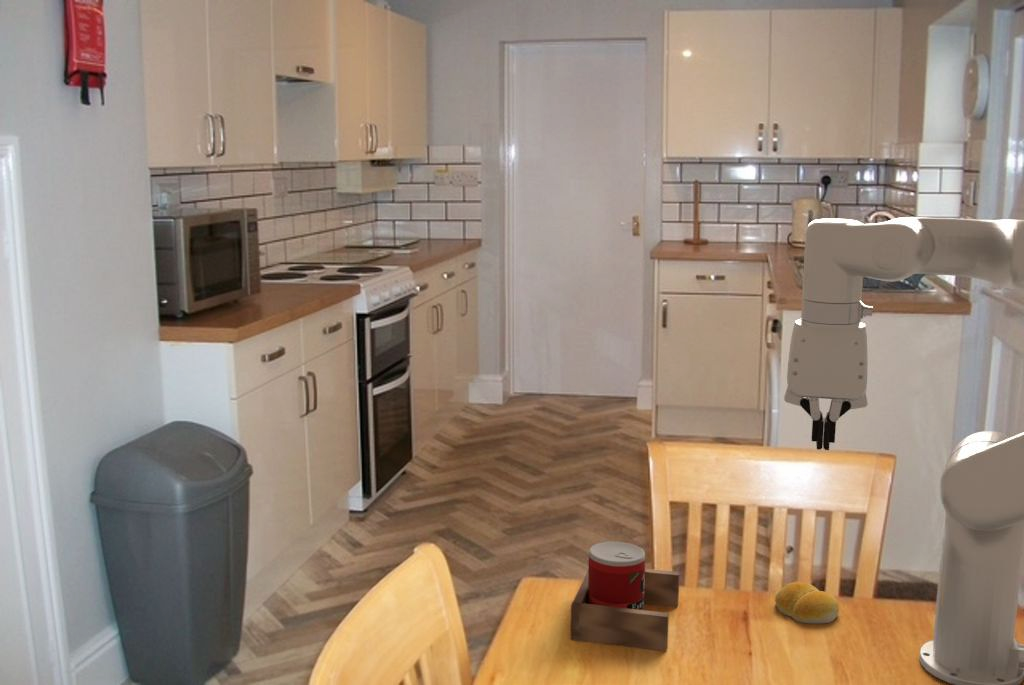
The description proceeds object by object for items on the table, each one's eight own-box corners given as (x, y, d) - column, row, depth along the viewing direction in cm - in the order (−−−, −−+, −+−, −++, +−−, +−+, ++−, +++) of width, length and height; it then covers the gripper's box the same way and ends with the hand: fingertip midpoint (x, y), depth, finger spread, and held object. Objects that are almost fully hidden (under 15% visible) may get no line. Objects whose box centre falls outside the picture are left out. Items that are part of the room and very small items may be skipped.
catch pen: (678, 603, 157) (679, 572, 156) (666, 651, 143) (667, 616, 142) (590, 594, 161) (591, 563, 160) (570, 639, 146) (571, 605, 145)
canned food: (638, 639, 146) (640, 564, 144) (581, 631, 148) (583, 558, 146) (647, 616, 153) (649, 544, 151) (593, 609, 156) (595, 538, 153)
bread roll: (813, 631, 149) (814, 605, 148) (765, 608, 156) (766, 583, 156) (851, 617, 154) (853, 591, 153) (803, 595, 161) (805, 570, 160)
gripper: (888, 311, 141) (878, 443, 145) (773, 306, 145) (766, 435, 148) (893, 320, 134) (883, 459, 138) (771, 315, 138) (765, 450, 141)
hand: (822, 446), depth 143 cm, fingers closed
